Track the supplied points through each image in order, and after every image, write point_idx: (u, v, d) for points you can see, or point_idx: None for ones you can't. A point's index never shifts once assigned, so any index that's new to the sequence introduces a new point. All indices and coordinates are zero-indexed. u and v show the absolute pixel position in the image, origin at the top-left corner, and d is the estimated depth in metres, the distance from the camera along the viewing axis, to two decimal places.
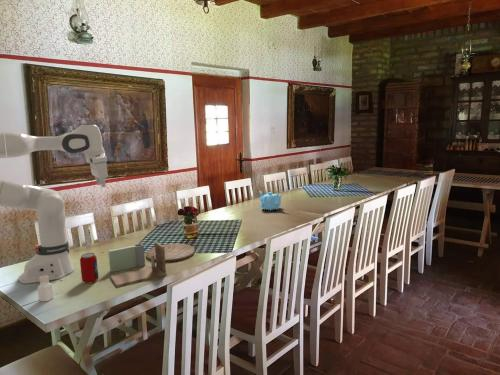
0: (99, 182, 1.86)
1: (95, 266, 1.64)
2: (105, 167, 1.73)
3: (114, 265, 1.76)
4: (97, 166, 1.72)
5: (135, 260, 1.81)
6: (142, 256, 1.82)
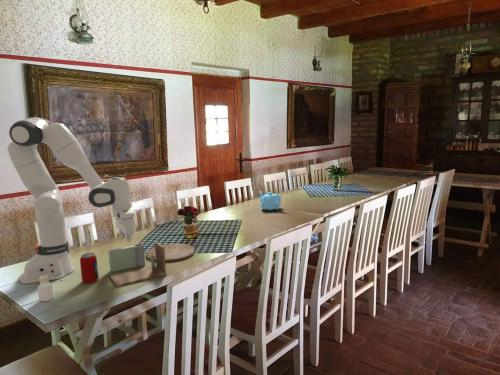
0: (123, 235, 1.81)
1: (95, 266, 1.64)
2: (132, 223, 1.69)
3: (114, 265, 1.76)
4: (124, 222, 1.68)
5: (135, 260, 1.81)
6: (142, 256, 1.82)
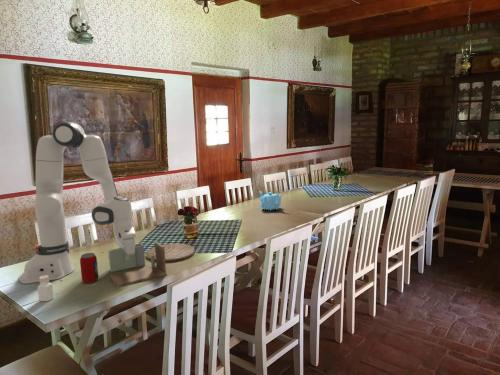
0: None
1: (95, 266, 1.64)
2: (133, 243, 1.71)
3: (114, 265, 1.76)
4: (125, 242, 1.69)
5: (135, 260, 1.81)
6: (142, 256, 1.82)
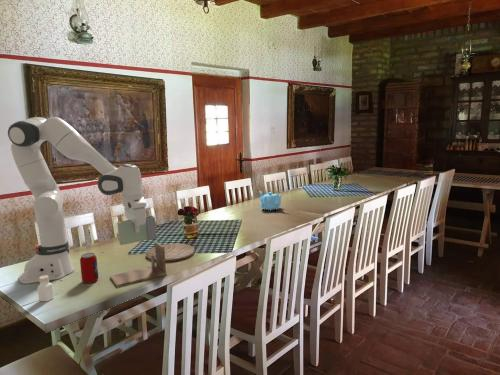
0: None
1: (95, 266, 1.64)
2: (144, 213, 1.59)
3: (124, 238, 1.64)
4: (136, 212, 1.57)
5: (146, 233, 1.69)
6: (153, 229, 1.70)
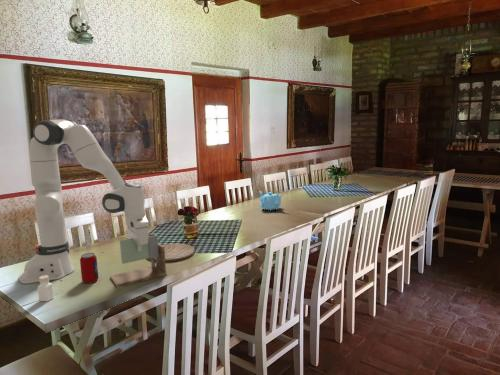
0: None
1: (95, 266, 1.64)
2: (146, 233, 1.59)
3: (126, 257, 1.65)
4: (138, 232, 1.57)
5: (148, 251, 1.70)
6: (155, 247, 1.70)
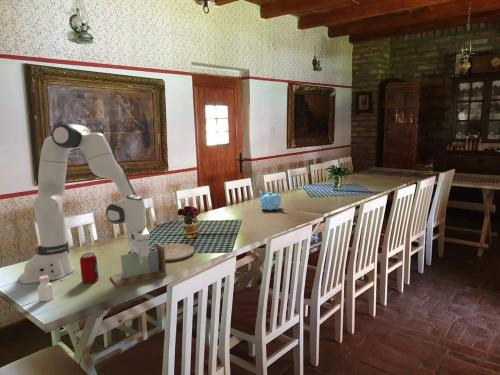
0: None
1: (95, 266, 1.64)
2: (147, 245, 1.60)
3: (127, 271, 1.66)
4: (139, 244, 1.58)
5: (149, 266, 1.71)
6: (156, 261, 1.72)
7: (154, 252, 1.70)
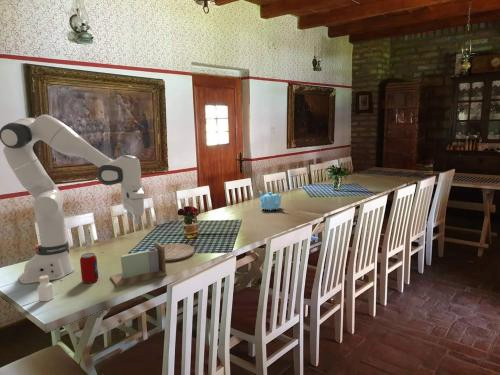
0: (131, 217, 1.72)
1: (95, 266, 1.64)
2: (142, 204, 1.60)
3: (127, 271, 1.66)
4: (134, 202, 1.58)
5: (149, 266, 1.71)
6: (156, 261, 1.72)
7: (154, 252, 1.70)
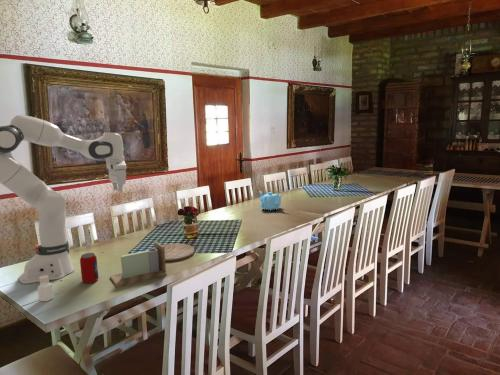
0: (116, 188, 1.96)
1: (95, 266, 1.64)
2: (124, 174, 1.84)
3: (127, 271, 1.66)
4: (117, 172, 1.83)
5: (149, 266, 1.71)
6: (156, 261, 1.72)
7: (154, 252, 1.70)
